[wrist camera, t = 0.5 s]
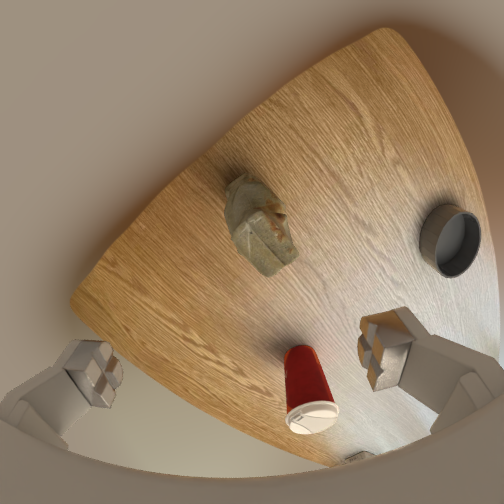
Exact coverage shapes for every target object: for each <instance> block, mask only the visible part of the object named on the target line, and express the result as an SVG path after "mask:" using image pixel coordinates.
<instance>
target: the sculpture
mask: <svg viewBox="0 0 504 504" xmlns="http://www.w3.org/2000/svg"><path fill="white" fill-rule="evenodd" d="M225 193H226V197H227V204H226V207H225V210H224V216H225V219H226V222H227V225H228V229H229V232H230V234H231V240H232V241H233V242H234V244H235V245H236V247H237V251H238V253H239V254H240V255H242V256H244V257H245V258H246V259H247V260H248V261H249V262H250V263H251V264H252V265H253V266H254V267H255V268H256V270H257V271H258V272H260V273H261V274H262V275H264V276H266V277H272V276H274V275H276V274H277V273H278V272H279V271H280V270H281V269H282V268H283V267H285V266H286V265H288V264H290V263H292V262H293V261H295V260H296V259H297V258H298V257H299V252H298V250H297V249H296V247H295V246H294V245H293V242H292V238H291V234H290V231H289V227H288V222H287V215H285V214H284V211H285V208H286V207H285V204H284V203H283V202H282V201H281V200H280V199H279V198H278V197H277V196H276V195H275V194H274V193H273V192H272V191H271V190H270V189H269V188H268V187H267V186H266V185H265V184H264V183H263V182H262V181H261V180H259V179H258V178H256V177H255V176H253V175H251V174H249V173H244V174H243V175H241V176H240V177H238V178H237V179H235V180H234V181H233V182H232V183H230V184H229V185H228V186H227V187H226V188H225Z"/></svg>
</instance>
